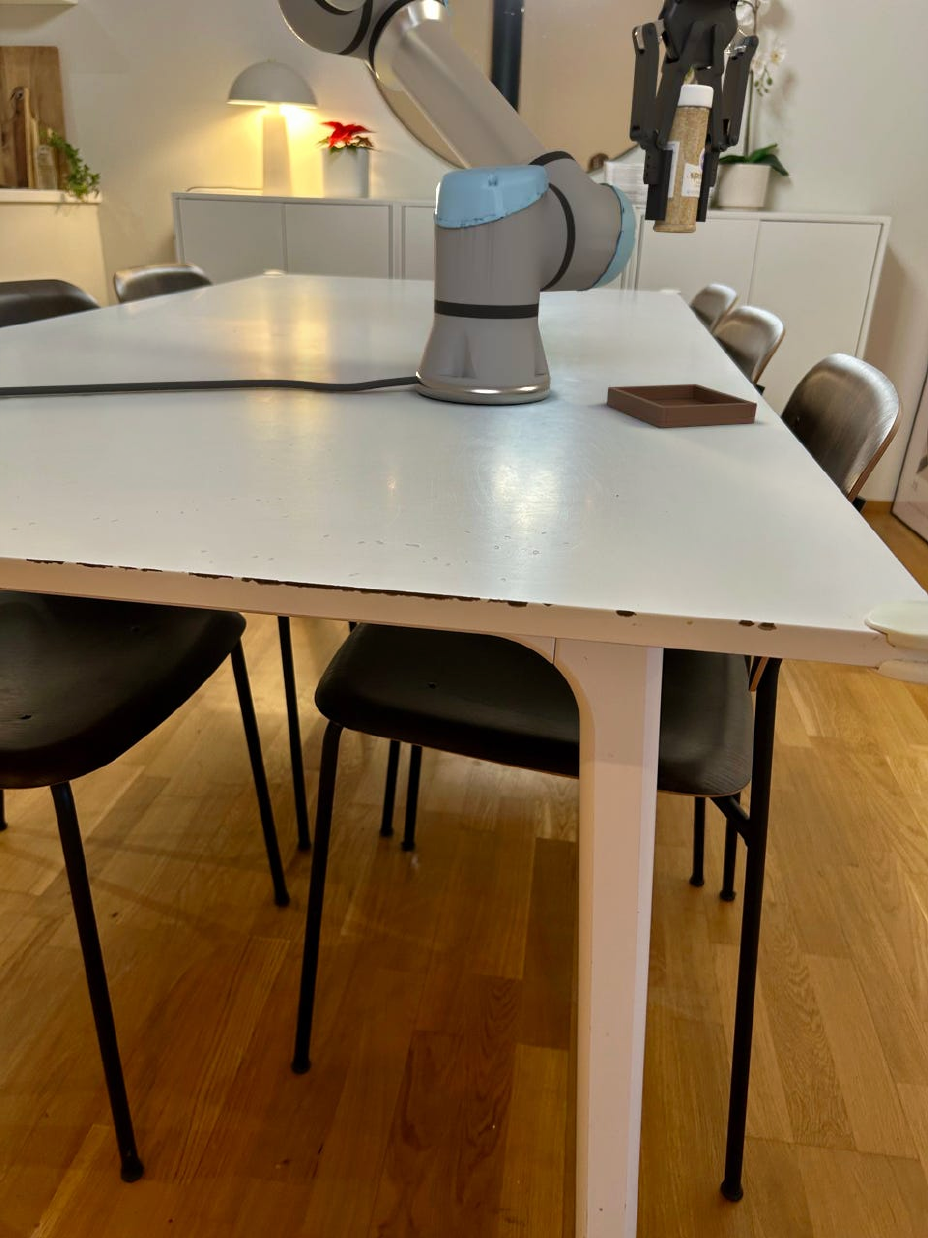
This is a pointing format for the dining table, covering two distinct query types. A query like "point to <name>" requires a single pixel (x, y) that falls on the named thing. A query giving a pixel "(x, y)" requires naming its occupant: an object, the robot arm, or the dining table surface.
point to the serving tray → (681, 405)
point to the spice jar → (686, 159)
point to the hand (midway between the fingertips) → (675, 220)
